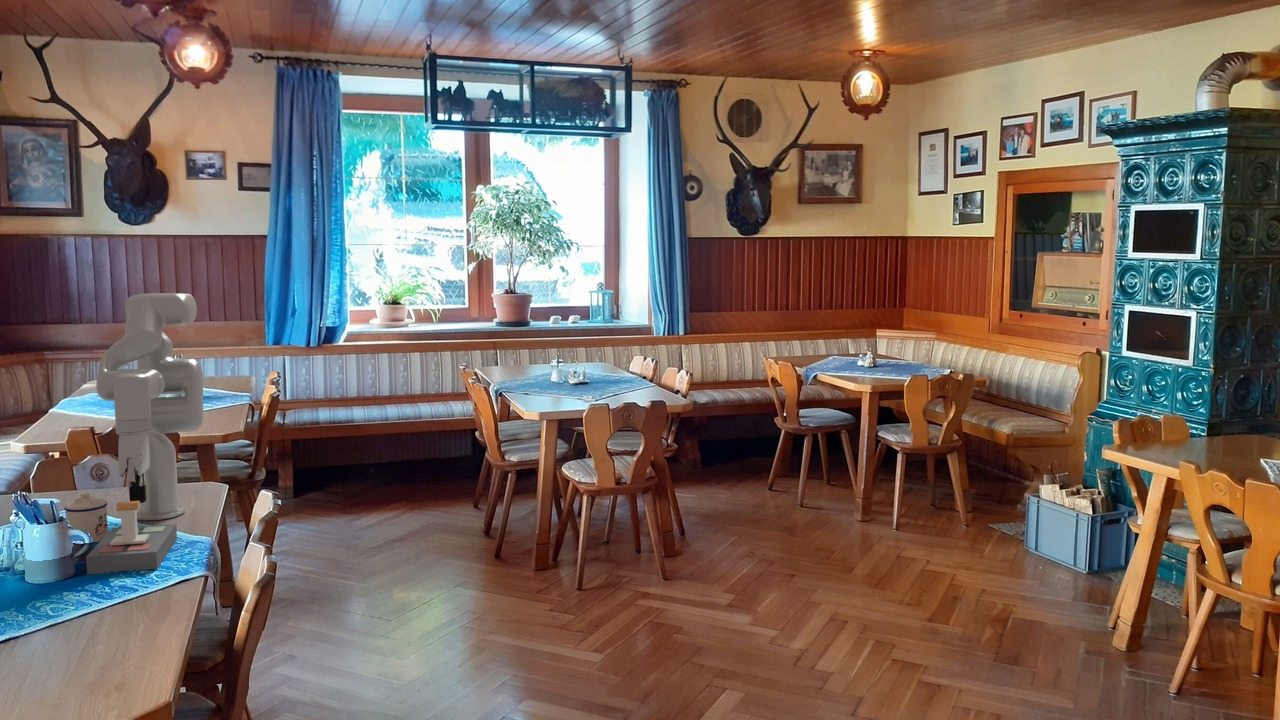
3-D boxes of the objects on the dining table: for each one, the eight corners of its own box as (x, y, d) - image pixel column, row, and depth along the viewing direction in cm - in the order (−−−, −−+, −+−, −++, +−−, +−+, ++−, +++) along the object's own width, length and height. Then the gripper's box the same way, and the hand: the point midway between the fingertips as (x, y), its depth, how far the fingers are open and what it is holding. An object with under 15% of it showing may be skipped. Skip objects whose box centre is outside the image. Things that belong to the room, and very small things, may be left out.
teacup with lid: (104, 543, 229) (101, 496, 228) (61, 546, 227) (58, 499, 225) (116, 529, 241) (113, 484, 239) (75, 532, 238) (72, 486, 237)
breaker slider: (116, 538, 218) (113, 500, 217) (149, 536, 220) (147, 498, 219) (110, 545, 213) (107, 506, 212) (144, 543, 215) (142, 504, 214)
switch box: (113, 544, 229) (112, 527, 228) (177, 539, 233) (176, 523, 232) (87, 574, 208) (85, 556, 207) (157, 569, 212) (156, 551, 211)
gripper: (124, 421, 229) (128, 495, 231) (107, 432, 214) (112, 511, 216) (158, 419, 231) (162, 493, 233) (144, 431, 216) (148, 509, 218)
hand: (138, 502), depth 225 cm, fingers closed
